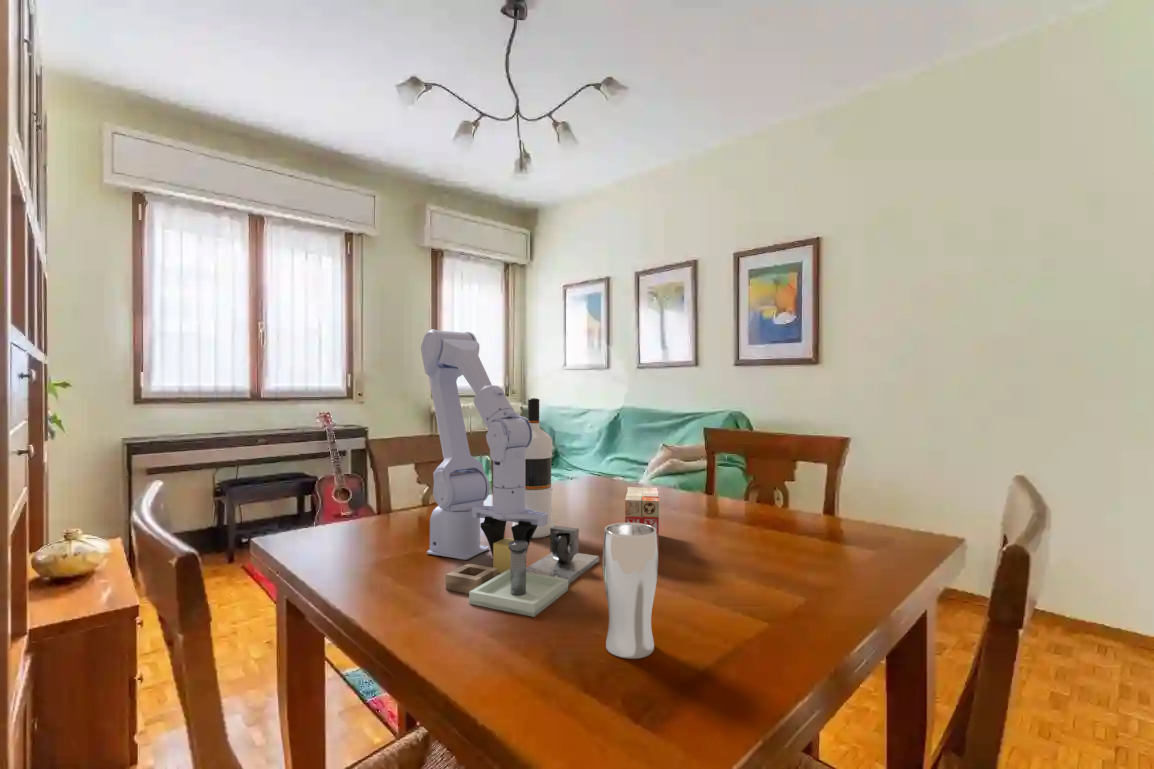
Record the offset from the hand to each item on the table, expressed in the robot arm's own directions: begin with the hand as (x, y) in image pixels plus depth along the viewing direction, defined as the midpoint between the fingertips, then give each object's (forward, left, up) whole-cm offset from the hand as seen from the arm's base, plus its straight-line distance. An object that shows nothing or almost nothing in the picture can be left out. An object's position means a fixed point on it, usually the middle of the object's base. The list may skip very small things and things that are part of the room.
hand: (509, 561), depth 99 cm
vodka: (-8, +23, -2) cm, 24 cm away
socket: (-1, -9, -2) cm, 9 cm away
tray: (+8, -10, -2) cm, 13 cm away
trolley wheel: (+8, +4, -2) cm, 9 cm away
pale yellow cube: (0, 0, -1) cm, 1 cm away
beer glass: (+29, -18, -2) cm, 34 cm away
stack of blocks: (+17, +23, -2) cm, 29 cm away
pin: (+8, -10, -1) cm, 13 cm away
